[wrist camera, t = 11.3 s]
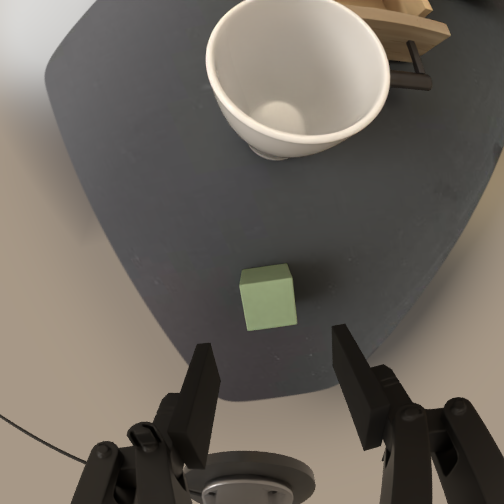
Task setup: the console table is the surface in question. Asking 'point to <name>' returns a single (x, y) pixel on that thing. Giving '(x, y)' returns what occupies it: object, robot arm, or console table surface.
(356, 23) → the drinking glass
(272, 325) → the block
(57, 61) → the console table surface
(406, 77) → the drawer
